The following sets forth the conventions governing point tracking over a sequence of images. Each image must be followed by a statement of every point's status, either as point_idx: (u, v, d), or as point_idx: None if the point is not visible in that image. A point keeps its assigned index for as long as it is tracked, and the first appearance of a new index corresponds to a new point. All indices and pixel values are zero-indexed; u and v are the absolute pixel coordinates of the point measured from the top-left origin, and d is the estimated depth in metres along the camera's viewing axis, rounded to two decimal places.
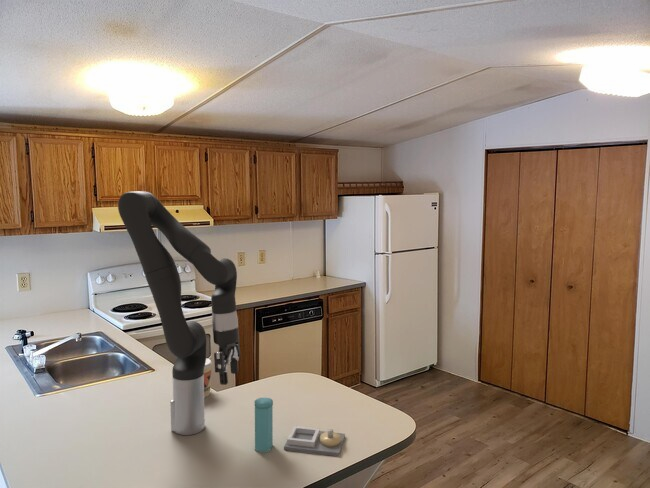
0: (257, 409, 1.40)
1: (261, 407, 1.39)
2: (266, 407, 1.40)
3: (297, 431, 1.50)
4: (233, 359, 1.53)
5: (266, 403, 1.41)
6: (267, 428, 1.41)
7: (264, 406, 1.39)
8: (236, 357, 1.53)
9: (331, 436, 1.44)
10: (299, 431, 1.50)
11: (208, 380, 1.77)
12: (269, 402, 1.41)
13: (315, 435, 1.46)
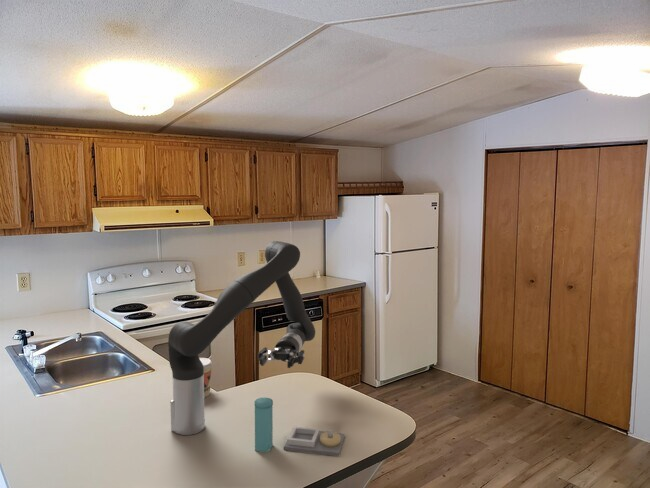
0: (257, 409, 1.40)
1: (261, 407, 1.39)
2: (266, 407, 1.40)
3: (297, 431, 1.50)
4: (266, 357, 1.57)
5: (266, 403, 1.41)
6: (267, 428, 1.41)
7: (264, 406, 1.39)
8: (268, 360, 1.58)
9: (331, 436, 1.44)
10: (299, 431, 1.50)
11: (208, 380, 1.77)
12: (269, 402, 1.41)
13: (315, 435, 1.46)
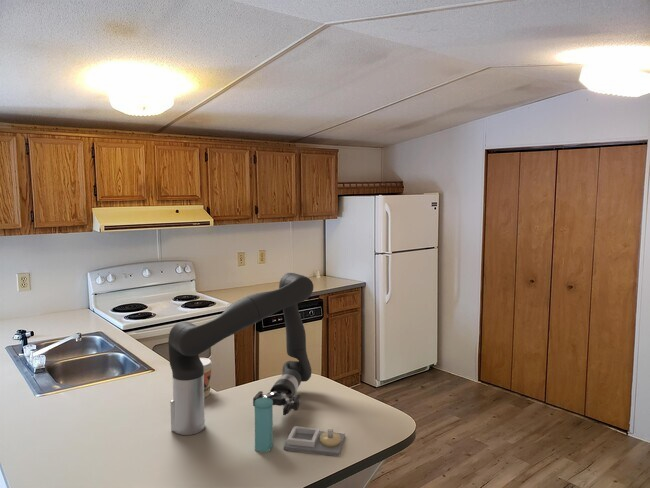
0: (257, 409, 1.40)
1: (261, 407, 1.39)
2: (266, 407, 1.40)
3: (297, 431, 1.50)
4: None
5: (266, 403, 1.41)
6: (267, 428, 1.41)
7: (264, 406, 1.39)
8: None
9: (331, 436, 1.44)
10: (299, 431, 1.50)
11: (208, 380, 1.77)
12: (269, 402, 1.41)
13: (315, 435, 1.46)
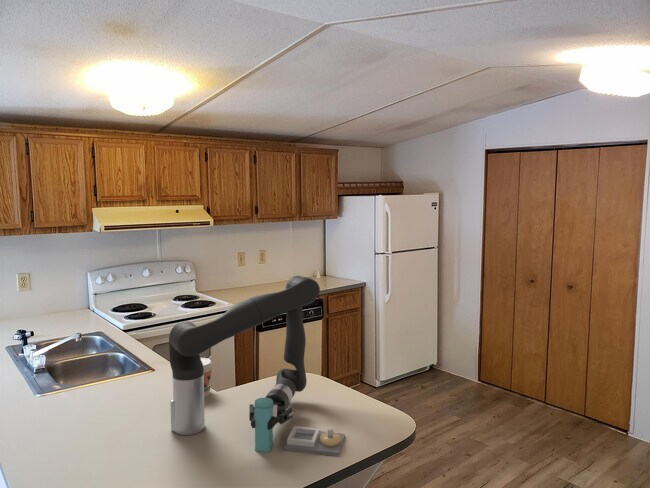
0: (257, 409, 1.40)
1: (261, 407, 1.39)
2: (266, 407, 1.40)
3: (297, 431, 1.50)
4: None
5: (266, 403, 1.41)
6: None
7: (264, 406, 1.39)
8: None
9: (331, 436, 1.44)
10: (299, 431, 1.50)
11: (208, 380, 1.77)
12: (269, 402, 1.41)
13: (315, 435, 1.46)
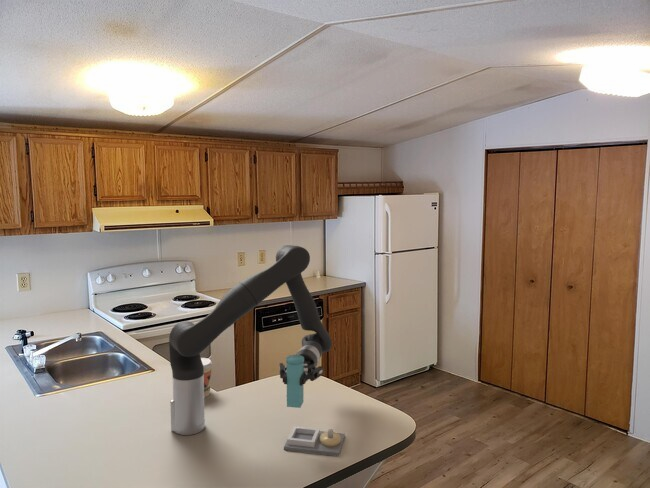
0: (289, 365, 1.42)
1: (293, 363, 1.41)
2: (298, 363, 1.41)
3: (297, 431, 1.50)
4: None
5: (298, 359, 1.42)
6: (299, 384, 1.42)
7: (296, 362, 1.41)
8: None
9: (331, 436, 1.44)
10: (299, 431, 1.50)
11: (208, 380, 1.77)
12: (300, 358, 1.43)
13: (315, 435, 1.46)
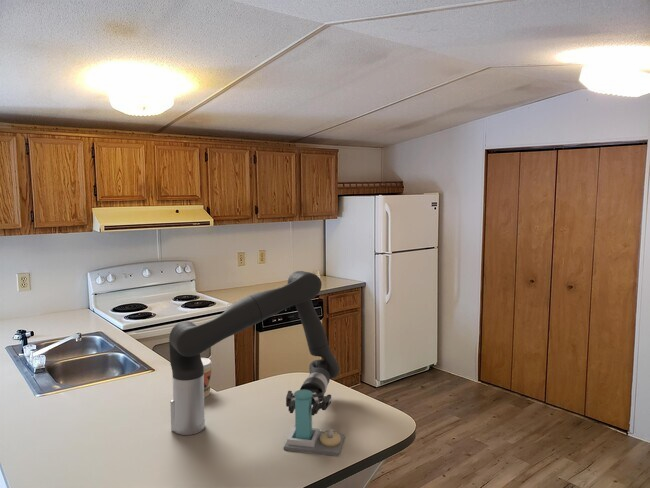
0: (297, 401, 1.44)
1: (301, 399, 1.43)
2: (306, 398, 1.43)
3: None
4: None
5: (306, 395, 1.44)
6: (307, 419, 1.44)
7: (304, 397, 1.43)
8: None
9: (331, 436, 1.44)
10: None
11: (208, 380, 1.77)
12: (308, 393, 1.45)
13: (315, 435, 1.46)
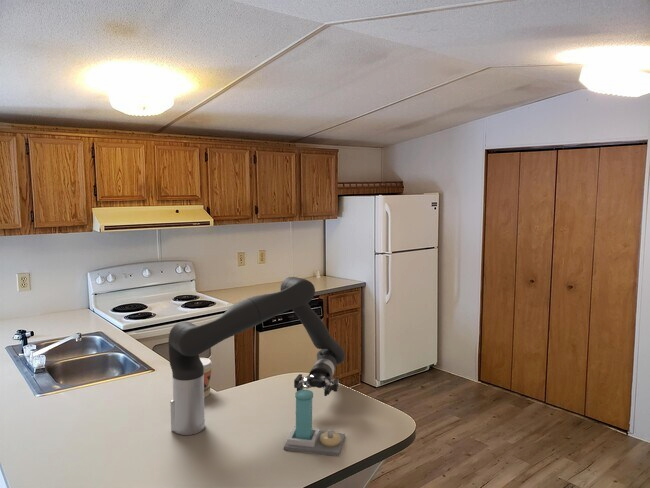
0: (298, 401, 1.44)
1: (302, 399, 1.43)
2: (307, 399, 1.43)
3: None
4: (302, 385, 1.62)
5: (307, 395, 1.44)
6: (308, 419, 1.44)
7: (305, 398, 1.43)
8: (304, 387, 1.62)
9: (331, 436, 1.44)
10: None
11: (208, 380, 1.77)
12: (309, 394, 1.45)
13: (315, 435, 1.46)
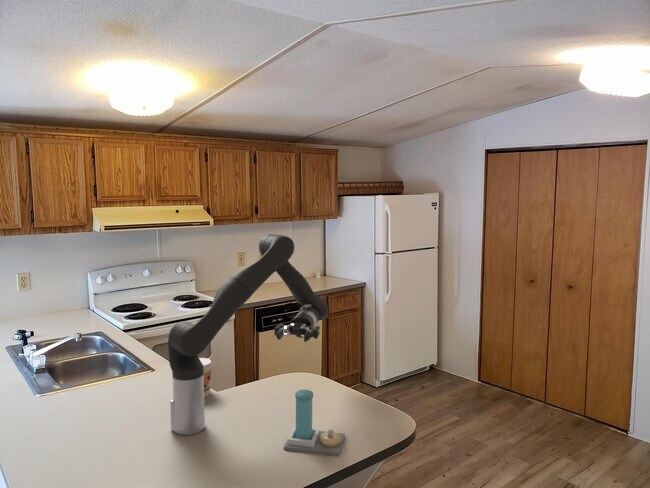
0: (298, 401, 1.44)
1: (302, 399, 1.43)
2: (307, 399, 1.43)
3: None
4: None
5: (307, 395, 1.44)
6: (308, 419, 1.44)
7: (305, 398, 1.43)
8: (285, 335, 1.61)
9: (331, 436, 1.44)
10: None
11: (208, 380, 1.77)
12: (309, 394, 1.45)
13: (315, 435, 1.46)
